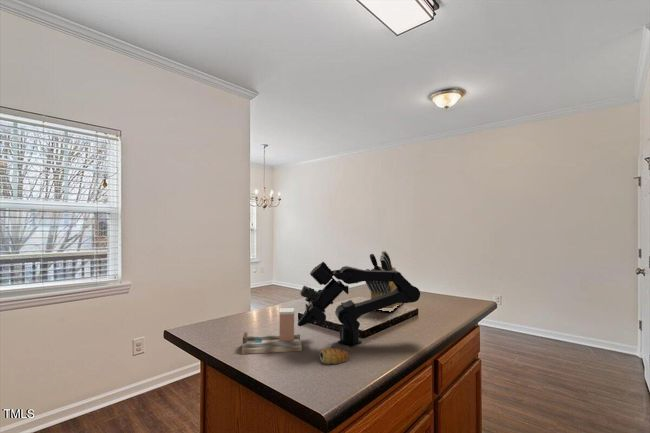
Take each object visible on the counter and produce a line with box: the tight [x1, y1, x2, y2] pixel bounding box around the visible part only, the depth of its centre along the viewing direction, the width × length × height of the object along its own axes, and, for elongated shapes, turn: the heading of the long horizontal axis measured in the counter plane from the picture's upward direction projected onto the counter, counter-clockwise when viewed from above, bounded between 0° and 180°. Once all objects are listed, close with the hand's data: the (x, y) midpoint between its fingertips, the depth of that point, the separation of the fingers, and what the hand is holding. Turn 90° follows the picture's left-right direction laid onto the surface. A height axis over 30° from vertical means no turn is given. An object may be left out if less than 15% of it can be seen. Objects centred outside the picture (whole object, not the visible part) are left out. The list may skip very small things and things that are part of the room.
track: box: [241, 332, 302, 355], centre depth 114 cm, size 20×10×4 cm, turn 98°
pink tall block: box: [278, 307, 295, 342], centre depth 114 cm, size 5×5×11 cm
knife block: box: [365, 250, 403, 308], centre depth 167 cm, size 11×35×31 cm, turn 152°
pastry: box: [319, 347, 350, 365], centre depth 103 cm, size 9×7×4 cm
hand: (298, 325), depth 115 cm, fingers closed
